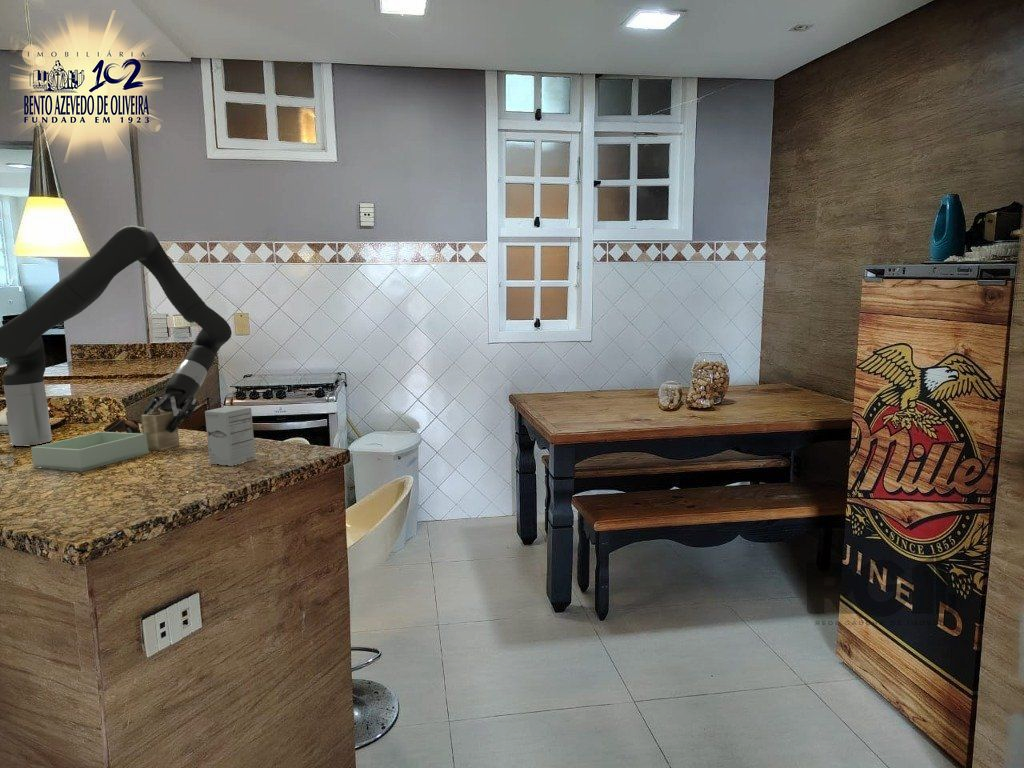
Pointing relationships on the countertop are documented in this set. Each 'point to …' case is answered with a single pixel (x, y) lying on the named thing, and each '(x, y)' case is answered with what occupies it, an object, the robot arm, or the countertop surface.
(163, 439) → the brown cardboard box
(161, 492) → the countertop surface
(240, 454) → the supplement box
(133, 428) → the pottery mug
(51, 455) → the sage crate
